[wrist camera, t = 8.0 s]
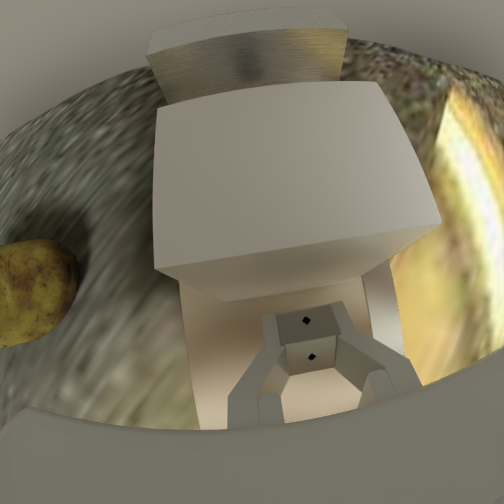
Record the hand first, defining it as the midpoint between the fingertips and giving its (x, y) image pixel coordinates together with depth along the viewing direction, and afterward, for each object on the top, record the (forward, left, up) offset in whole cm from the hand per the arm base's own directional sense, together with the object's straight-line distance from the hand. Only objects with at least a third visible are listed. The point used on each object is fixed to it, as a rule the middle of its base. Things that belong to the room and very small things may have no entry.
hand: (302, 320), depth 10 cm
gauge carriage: (+1, +6, -4) cm, 8 cm away
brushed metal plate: (0, +14, -4) cm, 15 cm away
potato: (-20, +3, -6) cm, 21 cm away
